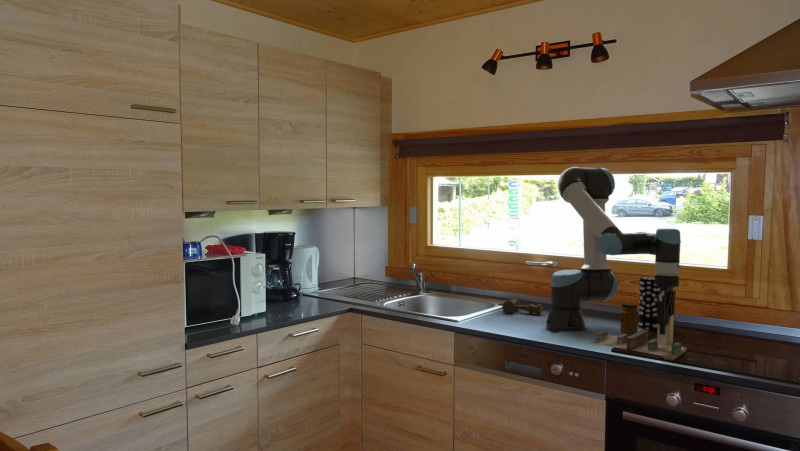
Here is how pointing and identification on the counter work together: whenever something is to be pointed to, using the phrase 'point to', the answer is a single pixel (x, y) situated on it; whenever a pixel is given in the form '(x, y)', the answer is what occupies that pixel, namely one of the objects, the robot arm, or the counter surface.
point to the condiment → (629, 318)
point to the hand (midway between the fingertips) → (664, 342)
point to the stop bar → (670, 330)
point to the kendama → (520, 307)
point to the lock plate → (642, 348)
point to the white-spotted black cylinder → (648, 303)
